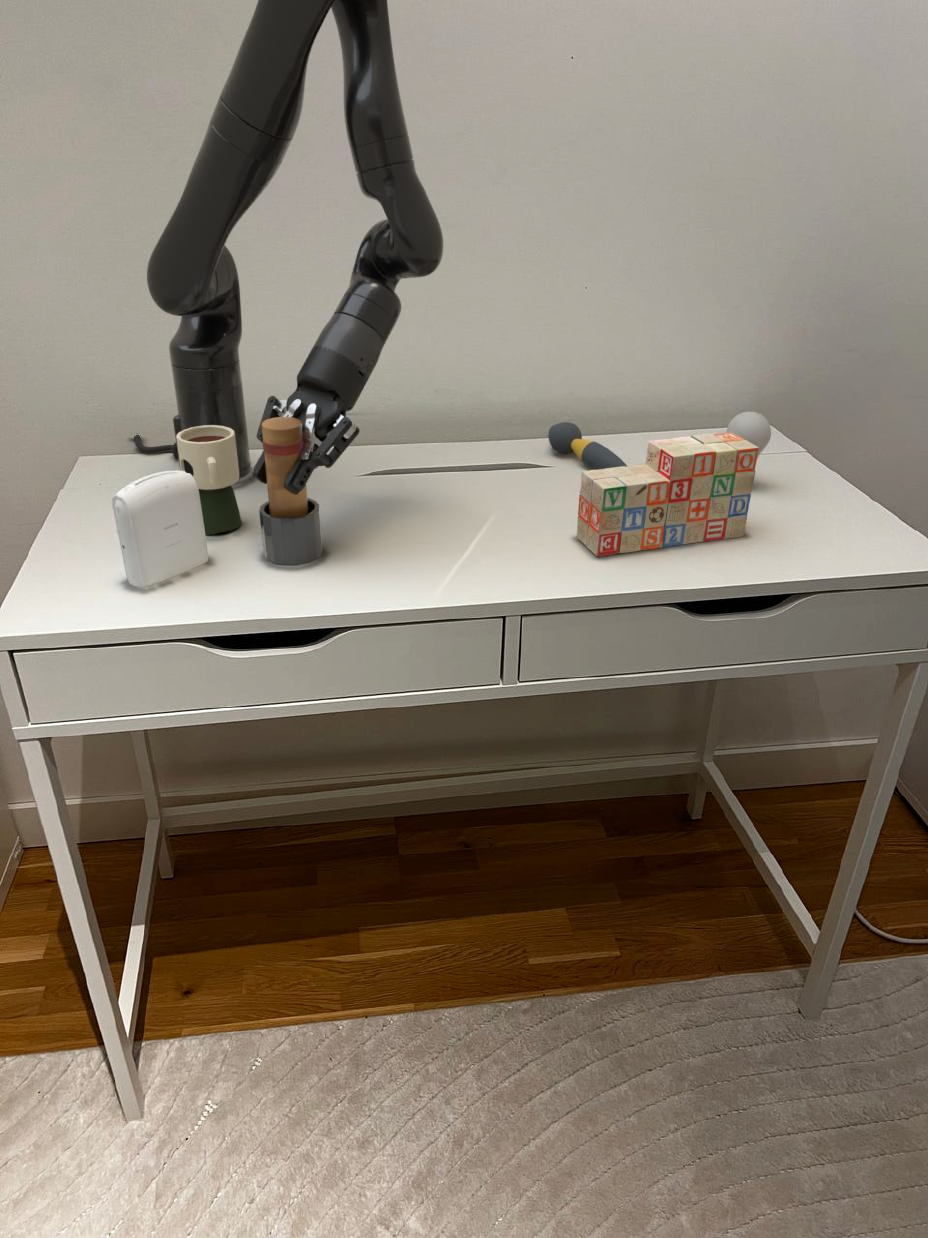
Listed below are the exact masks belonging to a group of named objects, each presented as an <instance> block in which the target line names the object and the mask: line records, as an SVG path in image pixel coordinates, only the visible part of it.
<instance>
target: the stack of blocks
mask: <svg viewBox="0 0 928 1238" xmlns="http://www.w3.org/2000/svg"><path fill="white" fill-rule="evenodd" d="M758 450H759V448H758V447H757V446H755V445H753V444H752V443H750V442H748V441H747V440H744V439H743V438H741V437H739V436H737V435H735V434H733V433H726V432H723V433H714V434H713V433H710V432H709V433H700V434H693V435H691V436H689V435H687V436H678V437H671V438H665V439H664V438H663V439H655V440H649V441H648V442H647V450H646V457H645V458H646V459H645V463H642V464H635V465H634V464H633V465H627V466H622V467H614V468H605V469H598V470H595V469H590V470H582V471H581V479H580V489H579V490H580V491H579V497H578V509H577V524H576V525H577V526H576V538H577V539H578V540H579V541H580V542H581V543H582V544H583V545H585V546H586V548H587V549H588V550H589V551H591V552H592V554H594V555H595V556H596V557H601V556H609V555H615V554H625V553H633V552H638V551H646V550H654V549H661V548H665V547H673V546H680V545H688V544H695V543H701V542H710V541H718V540H726V539H733V538H734V539H735V538H742V537H744V536H745V533H746V526H747V522H748V512H749V507H750V502H751V497H752V492H753V488H754V483H755V479H756V472H757V471H756V466H757V461H758V458H757V456H758Z"/></svg>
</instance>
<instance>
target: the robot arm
mask: <svg viewBox="0 0 928 1238" xmlns="http://www.w3.org/2000/svg"><path fill="white" fill-rule="evenodd" d="M330 10H331V12H332V15H333V18H334V21H335V25H336V28H337V32H338V33H337V34H338V37H339V43H340V48H341V56H342V58H341V59H342V71H343V115H344V116H343V117H344V124H345V132H346V137H347V141H348V146H349V149H350V154H351V158H352V162H353V166H354V170H355V173H356V174H355V175H356V178H357V182H358V186H359V189H360V191H361V193H362V194H363V196H364V197H365V198H367V199H369V200H374V201H376V202H378V203H379V204H380V205H381V208H382V210H383V212H384V215H385V217H386V219H382V220H379V221H378V222H376V223H375V224H373V225H372V226H371V228H369V230H368V231H367V232H366V234H364V236H363V239H362V240H361V242H360V245H359V247H358V249H357V253H356V257H355V260H354V264H353V267H352V271H351V275H350V280H349V284H348V287H347V289H346V291H345V292H344V294H343V296H342V297H341V299H340V301H339V303H338V305H337V306H336V309H335V310H334V312H333V314H332V315H331V317H330V319H329V321H327V323H326V324H325V325H324V327H323V328H322V330H321V331H320V333H319V335H318V337H317V339H316V341H315V342H314V344H313V346H312V347H311V350H310V352H309V353H308V355H307V357H306V359H305V361H304V363H303V364H302V366H301V367H300V370H299V372H298V373H297V375H296V389H295V391H294V392H292V394H291V395H289V396H288V398H287V399H278V398H277V397H276V395H270V396H269V397H268V398H267V401H266V404H265V407H264V410H263V413H262V417H261V420H260V423H259V427H258V430H257V432H256V439H257V440H258V441H259V442H261V444H263V442H262V439H263V434H262V422H264V421H265V420H267V419H271V418H276V417H292V418H296V419H299V420H301V422H302V430H303V436H302V440H303V447H302V451H301V455H300V457H301V460H300V459H297V460H296V462H295V464H294V466H293V467H292V469H291V471H290V473H289V475H288V477H287V479H286V480H285V482H284V488H285V489H286V490H288V491H289V492H290V493H292V494H295V495H297V494H299V492H300V491H301V490H302V489H303V488H304V487H305V485H306V486H307V483H308V481H309V479H310V477H311V476H312V474H313V472H314V470H316V469H318V468H320V467H325V468H327V469H329V468H332V467H333V465H334V464H335V463H336V462H337V461H338V459H339V458H340V457H341V456H342V455H343V454H344V452H345V451H346V450H347V449H348V448H349V446H350V445H351V444H352V442H354V440H355V439H356V437H358V436H359V434H360V428H359V427H358V425H356V423H355V422H354V421H352V420H351V419H350V418H349V417H348V416H347V412H350V411H352V410H353V409H354V407H355V405H356V403H357V402H358V400H359V398H360V396H361V394H362V392H363V391H364V389H365V387H366V385H367V383H368V381H369V379H370V377H371V376H372V373H373V372H374V370H375V369H376V366H377V365H378V362H379V359H380V357H381V354H382V351H383V349H384V347H385V345H386V343H387V341H388V339H389V337H390V335H391V333H392V332H393V329H394V328H395V326H396V324H397V323H398V320H399V318H400V315H401V313H402V302H401V299H400V297H399V295H398V294H397V293H396V288H397V286H398V284H400V281H401V280H403V279H416V278H424V277H427V276H430V275H431V274H433V273H435V272H436V271H437V269H438V268H439V266H440V264H441V262H442V259H443V254H444V235H443V231H442V227H441V224H440V221H439V218H438V217H437V214H436V212H435V210H434V207H433V205H432V202H431V201H430V198H429V196H428V194H427V191H426V189H425V187H424V186H423V183H422V181H421V180H420V178H419V176H418V173H417V170H416V163H415V160H414V155H413V150H412V149H413V148H412V145H411V140H410V135H409V131H408V126H407V122H406V117H405V113H404V109H403V103H402V98H401V93H400V87H399V82H398V76H397V71H396V63H395V57H394V49H393V42H392V34H391V26H390V25H391V24H390V15H389V5H388V0H257V3H256V5H255V8H254V12H253V13H252V17H251V19H250V22H249V23H248V27H247V29H246V32H245V34H244V36H243V39H242V40H241V44H240V45H239V48H238V51H237V54H236V56H235V59H234V62H233V64H232V66H231V69H230V72H229V74H228V76H227V78H226V81H225V83H224V85H223V87H222V90H221V92H220V95H219V96H218V100H217V102H216V104H215V107H214V109H213V112H212V115H211V117H210V120H209V123H208V126H207V129H206V132H205V134H204V137H203V140H202V143H201V146H199V147H200V148H199V149H198V153H197V155H196V158H195V160H194V161H193V165H192V167H191V170H190V173H189V175H188V178H187V180H186V184H185V186H184V188H183V191H182V194H181V196H180V198H179V201H178V202H177V204H176V207H175V209H174V211H173V213H172V215H171V216H170V218H169V220H168V222H167V224H166V225H165V228H164V229H163V231H162V233H161V235H160V237H159V239H158V240H157V242H156V244H155V246H154V248H153V250H152V252H151V254H150V257H149V259H148V262H147V267H146V285H147V289H148V291H149V294H150V297H151V299H152V301H153V302H154V303H155V305H156V306H157V307H158V308H159V309H160V310H161V311H163V312H164V313H166V314H168V315H171V316H175V317H180V322H179V326H178V327H177V329H176V332H175V334H174V335H173V336H172V338H171V340H170V342H169V344H168V353H169V359H170V365H171V372H172V379H173V387H174V392H175V400H176V406H177V415H174V417H172V423H173V430H174V436H175V443H173V444H164V445H156V446H145V445H143V443H142V437H141V438H140V436H141V435H140V436H139V435H136V436H135V435H134V437H133V442H134V443H135V446H136V448H137V449H138V450H139V451H141V452H143V453H145V454H155V453H162V452H172V455H173V457H174V458H175V459H178V464H179V466H180V460H179V452H178V445H177V438H176V436H177V434H178V433H179V432H181V431H183V430H185V429H188V428H191V427H197V426H204V425H217V426H225V427H228V428H231V429H232V430H233V431H234V432H235V440H236V448H237V457H238V466H239V480H238V481H237V482H236V483H235V484H233V485H231V486H235V485H240V484H242V483H244V482H246V481H248V480H251V479H252V477H253V478H254V479H256V480H257V481H258V482H259V483H262V484H265V485H267V477H266V467H265V456H264V450H263V451H262V453H261V455H260V456H259V458H258V459H257V462H256V463H255V465H254V467H252V462H251V456H250V455H251V453H250V444H249V435H248V426H247V415H246V407H245V399H244V398H245V397H244V390H243V381H242V380H243V379H242V372H241V362H240V352H239V350H240V349H239V348H240V344H241V340H242V334H243V319H242V304H241V301H242V300H241V286H240V279H239V271H238V268H237V264H236V261H235V259H234V257H233V254H232V253H231V251H230V249H229V248H228V247H227V246H226V242H227V241H228V238H229V236H230V235H231V233H232V231H233V230H234V228H235V227H236V225H237V224H238V222H239V221H240V220H241V219H242V218H243V216H244V215H245V214H246V213H247V212H248V210H249V209H250V208H251V207H252V206H253V204H255V202H256V201H257V200H258V198H259V197H260V196H261V195H262V194H263V192H264V191H265V190H266V189H267V187H268V186H269V184H270V183H271V182H272V180H273V178H275V176H276V174H277V172H278V170H279V169H280V167H281V165H282V164H283V161H284V158H285V156H286V154H287V152H288V150H289V147H290V145H291V143H292V141H293V139H294V137H295V134H296V132H297V129H298V126H299V123H300V120H301V116H302V112H303V107H304V98H305V89H306V77H307V71H308V64H309V59H310V55H311V52H312V48H313V46H314V43H315V41H316V39H317V37H318V34H319V33H320V30H321V28H322V26H323V24H324V22H325V20H326V18H327V16H328V13H329V11H330ZM328 452H329V453H328ZM179 471H181V468H180V467H179Z"/></svg>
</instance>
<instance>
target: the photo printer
mask: <svg viewBox="0 0 928 1238" xmlns="http://www.w3.org/2000/svg"><path fill="white" fill-rule="evenodd" d="M111 502H112V503H111V504H112V505H111V507H112V510H113V517H114V520H115V521H114V522H115V526H116V530H117V535H118V541H119V545H120V551H121V556H122V559H123V560H122V561H123V565H124V566H123V567H124V572H125V576H126V578H127V580H128V583H129V584H130V585H131V586H135V587H141V588H147V587H150V586H154V585H157V584H159V583H162V582H164V581H167V580H169V579H172V578H174V577H176V576H179V575H181V574H184V573H187V572H189V571H191V570H193V569H195V568H198V567H200V566H202V565H204V564H206V563H208V562H209V550H208V543H207V535H206V534H205V528H204V522H203V515H202V509H201V502H200V496H199V490H198V486H197V483H196V481H195V479H194V478H193V476H192V475H191V474H190V473H186V472H185V471H180V470H164V471H159V472H155V473H151V474H147V475H145V476H143V477H141V478H138V479H136V480H134V481H132V482H130V483H128V484H127V485H126V486H124V487H123V488H121V489H120V490H119V491H117V492H116V493H115V494H114V495H113V497H112V501H111Z"/></svg>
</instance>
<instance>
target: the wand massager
mask: <svg viewBox="0 0 928 1238" xmlns="http://www.w3.org/2000/svg"><path fill="white" fill-rule="evenodd" d="M547 436H548V437H547V438H548V442H549V445H550V447H551V448H552V450H553V451H554V452H556V453H558V454H560V455H570V454H573V453H574V454H575V455H576V456H577V457H578V459H579V460H580V461H581V462H582V463H583V464H584V465H586V466H588V467H589V468H590V469H592V470H598V469H605V468H614V467H622V466H628V465H627V464H626V462H625V461H624V460H623V459H622V458H621V457H620V456H618V455H617V454H616V453H614V451H612V450H611V449H609V448H607V447H606V446H604V445H602V444H601V443H599V442H597V441H593V440H589V439H583V435H582V431H581V429H580V428H579V427H578V426H577V425H576V424H575V423H573V422H569V421H564V422H559V423H555V424H552V425H551V426H550V428H549V430H548V435H547Z"/></svg>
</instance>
